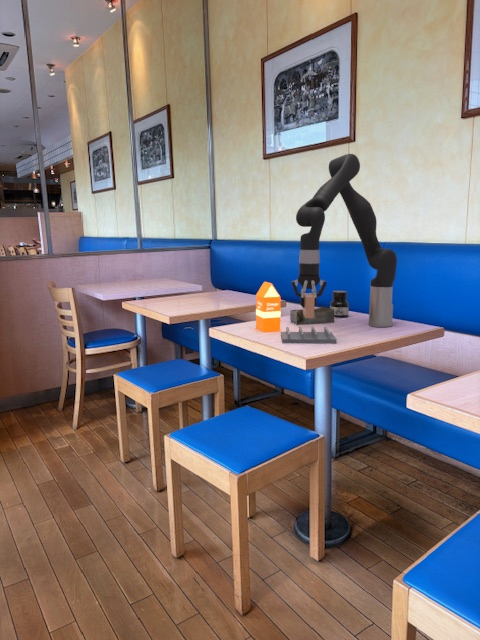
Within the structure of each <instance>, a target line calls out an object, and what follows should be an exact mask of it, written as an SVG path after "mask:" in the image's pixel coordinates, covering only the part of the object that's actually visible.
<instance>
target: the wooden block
mask: <svg viewBox="0 0 480 640" xmlns="http://www.w3.org/2000/svg"><path fill="white" fill-rule="evenodd" d="M304 298H305V302H304V308H302V309H303V315H304V317H305V318H314V299H315V297H314V295H313V294H312V292H309V293H306V292H305V295H304Z"/></svg>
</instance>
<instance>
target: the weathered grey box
mask: <svg viewBox="0 0 480 640" xmlns="http://www.w3.org/2000/svg"><path fill="white" fill-rule="evenodd" d="M289 312H290V314H289V318H290V320H289V321H290V324H293V323H294V325H295V324H296V326H305V325H318V324H330V323H335V317H334V309H331V308H330V307H324V306H321V307H316V308H314V318H305V317H304V315H303V308H302V309H290V310H289Z"/></svg>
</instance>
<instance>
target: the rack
mask: <svg viewBox="0 0 480 640" xmlns="http://www.w3.org/2000/svg"><path fill="white" fill-rule="evenodd" d="M285 328H286V329H285V330H286V331H280V336H281V342H282V344H337V341H338V340H337V338H336V337H335V334H333V332H332V331H330V330H329V329H328V328H327V326H324V328H323V331H317V330H316V329H315V327H314V326H311V328H310V329H311V331H303V329H302V326H298V331H291V330H290V328H289V326H286V327H285Z"/></svg>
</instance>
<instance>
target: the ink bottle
mask: <svg viewBox="0 0 480 640" xmlns="http://www.w3.org/2000/svg"><path fill="white" fill-rule="evenodd" d="M347 299H348V291H346V290H332V301H330V302H329V308H331V309H334V318H347V317H349V313H350V312H349V310H350V304H349V302H348V301H347Z"/></svg>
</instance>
